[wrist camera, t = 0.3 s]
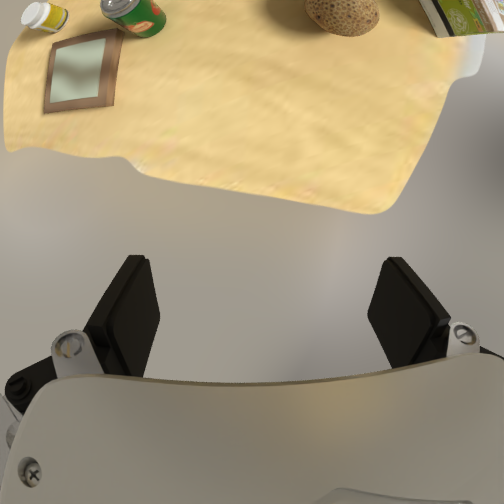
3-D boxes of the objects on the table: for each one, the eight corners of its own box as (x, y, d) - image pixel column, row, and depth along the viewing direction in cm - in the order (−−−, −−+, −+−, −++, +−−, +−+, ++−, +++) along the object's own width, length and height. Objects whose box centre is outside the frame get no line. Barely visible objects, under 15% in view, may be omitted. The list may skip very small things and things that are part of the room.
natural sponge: (297, 37, 28) (315, 16, 20) (299, -10, 24) (315, -40, 15) (358, 50, 29) (391, 37, 20) (358, 3, 25) (388, -18, 16)
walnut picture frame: (61, 45, 25) (51, 42, 22) (124, 32, 26) (116, 27, 24) (53, 112, 31) (42, 113, 28) (113, 105, 32) (104, 105, 29)
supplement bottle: (70, 5, 21) (43, -6, 14) (69, 26, 23) (40, 17, 16) (49, 17, 21) (20, 9, 14) (48, 38, 24) (17, 32, 16)
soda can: (130, 39, 27) (92, 19, 16) (138, 10, 25) (104, -17, 14) (162, 38, 28) (132, 13, 17) (170, 9, 25) (145, -23, 15)
